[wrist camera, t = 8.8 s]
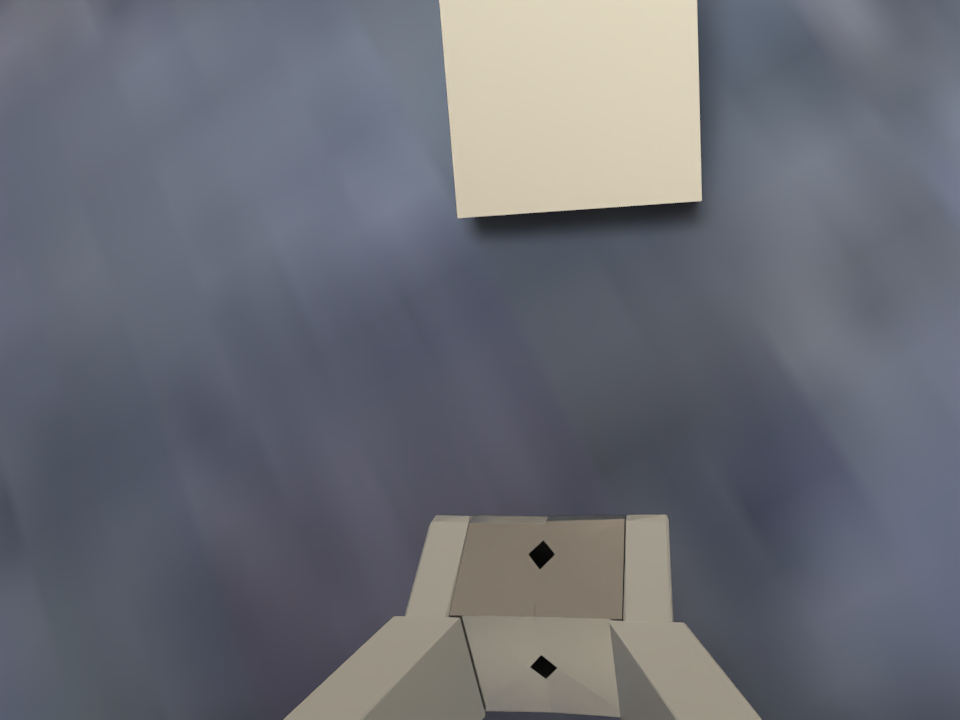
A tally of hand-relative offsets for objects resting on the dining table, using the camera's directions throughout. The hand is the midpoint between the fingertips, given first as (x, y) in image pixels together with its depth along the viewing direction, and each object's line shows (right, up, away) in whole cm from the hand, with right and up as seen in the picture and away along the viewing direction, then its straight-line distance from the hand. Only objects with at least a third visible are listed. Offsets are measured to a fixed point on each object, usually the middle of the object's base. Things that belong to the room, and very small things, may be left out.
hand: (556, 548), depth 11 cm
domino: (+1, +6, +7) cm, 9 cm away
